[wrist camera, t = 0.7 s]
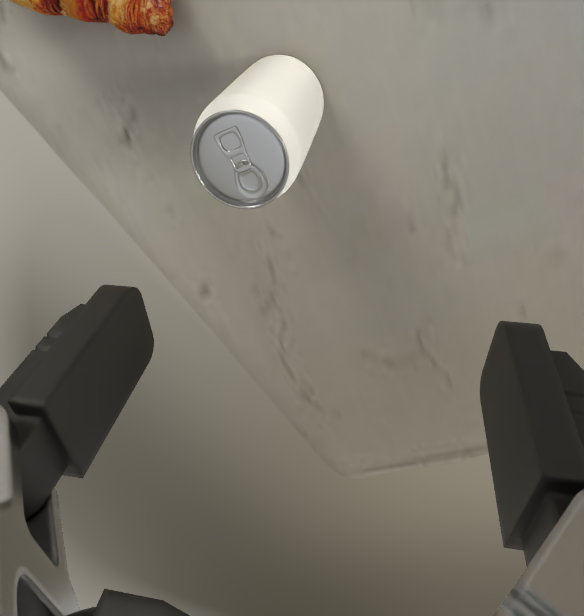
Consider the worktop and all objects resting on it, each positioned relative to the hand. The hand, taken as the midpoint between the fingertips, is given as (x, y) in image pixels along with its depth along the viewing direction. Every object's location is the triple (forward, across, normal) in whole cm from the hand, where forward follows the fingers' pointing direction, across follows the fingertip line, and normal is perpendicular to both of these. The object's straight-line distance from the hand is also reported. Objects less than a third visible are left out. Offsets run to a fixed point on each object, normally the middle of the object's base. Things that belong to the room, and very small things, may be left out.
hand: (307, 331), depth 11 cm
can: (+29, +6, +3) cm, 30 cm away
